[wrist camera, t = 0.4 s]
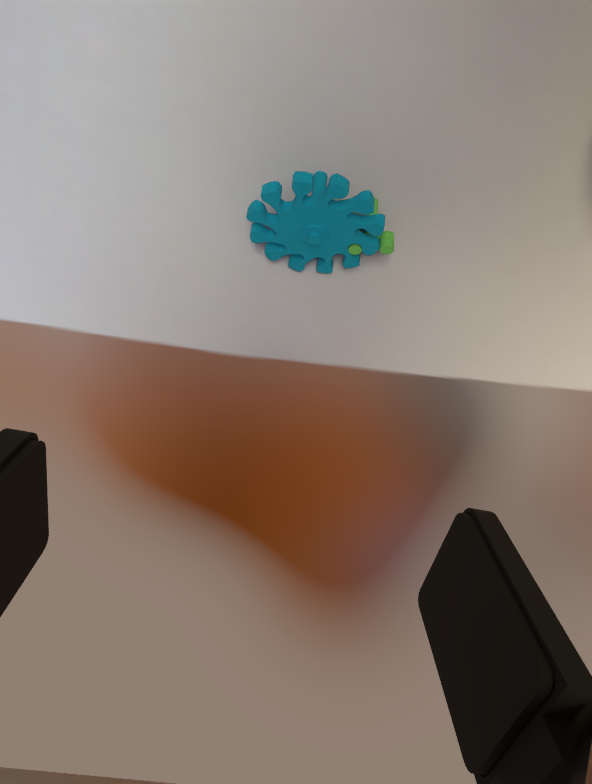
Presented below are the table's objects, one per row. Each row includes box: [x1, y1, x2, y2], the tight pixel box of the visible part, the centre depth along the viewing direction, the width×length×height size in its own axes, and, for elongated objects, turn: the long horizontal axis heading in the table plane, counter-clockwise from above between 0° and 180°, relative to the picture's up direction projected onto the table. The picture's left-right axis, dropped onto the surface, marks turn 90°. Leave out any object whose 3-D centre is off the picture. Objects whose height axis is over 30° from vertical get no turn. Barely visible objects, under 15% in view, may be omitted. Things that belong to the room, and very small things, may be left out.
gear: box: [247, 171, 394, 273], centre depth 33 cm, size 11×6×10 cm
